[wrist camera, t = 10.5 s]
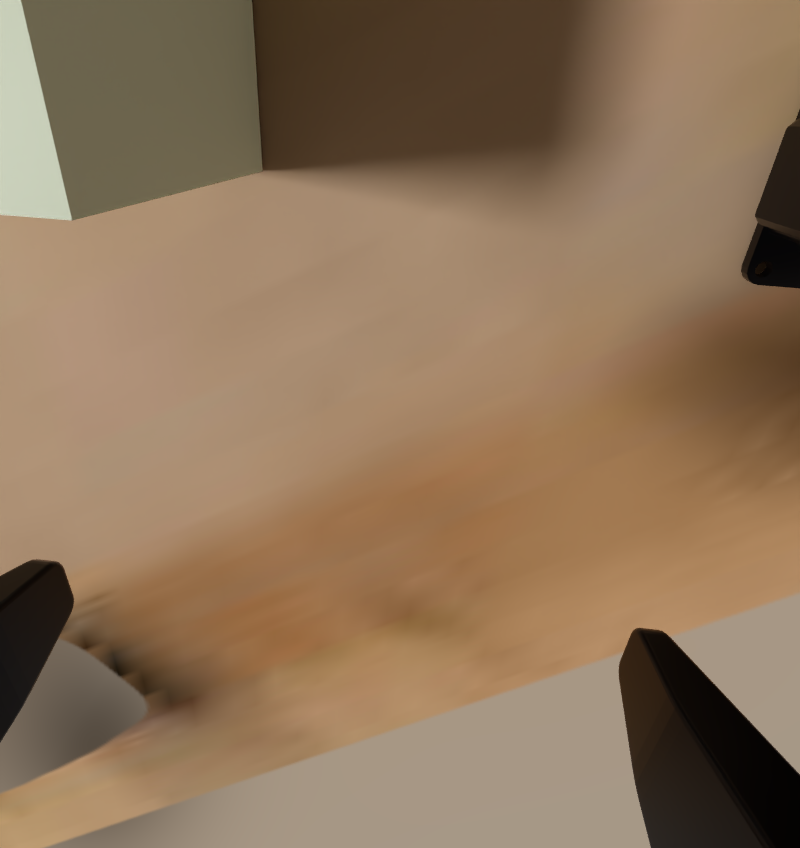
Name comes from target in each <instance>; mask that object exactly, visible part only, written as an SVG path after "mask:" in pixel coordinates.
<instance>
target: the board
mask: <svg viewBox="0 0 800 848" xmlns="http://www.w3.org/2000/svg"><path fill="white" fill-rule="evenodd" d="M262 171H263V169H262V153H261V137H260V121H259V105H258V89H257V73H256V57H255V41H254V25H253V9H252V0H0V215H11V216H23V217H36V218H48V219H61V220H76V219H80V218H83V217H87V216H91V215H95V214H99V213H103V212H107V211H111V210H114V209H118V208H122V207H126V206H130V205H134V204H138V203H142V202H145V201H149V200H153V199H157V198H161V197H165V196H169V195H173V194H176V193H180V192H184V191H188V190H192V189H196V188H200V187H204V186H207V185H211V184H215V183H219V182H223V181H227V180H231V179H235V178H238V177H242V176H246V175H250V174H254V173H258V172H262Z"/></svg>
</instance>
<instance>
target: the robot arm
mask: <svg viewBox="0 0 800 848" xmlns="http://www.w3.org/2000/svg"><path fill="white" fill-rule="evenodd" d="M755 217H756V219H757V221H758V224H757V226H756V229H755V232H754V234H753V237H752V240H751V242H750V245H749V248H748V251H747V253H746V256H745V259H744V261H743V264H742V269H741V272H742V276H743V277H744V278H745V279H746V280H747V281H749V282H751V283H753V284H757V285H766V286H778V287H790V288H800V110H799V113H798V115H797V118H796V121H795V122H793V123H792V124H791V125H790V126H789V127H788V128H787V129H786V131H785V134H784V137H783V140H782V142H781V145H780V148H779V151H778V153H777V156H776V159H775V162H774V164H773V167H772V170H771V173H770V175H769V178H768V181H767V184H766V186H765V189H764V192H763V195H762V197H761V200H760V203H759V205H758V208H757V211H756V214H755ZM765 261H766V268H765V269H764V271H763V272H761V273H760V274H756V273H755V269H756V267H757V266H758V264H760V263H762V262H765ZM73 604H74V597H73V593H72V591H71V588H70V585H69V582H68V579H67V576H66V573H65V570H64V568H63V566H62V565H61V564H60V563H59V562H56V561H48V560H38V559H36V560H31V561H28V562H26V563H24V564H22V565H20V566H18V567H16V568H14V569H12V570H11V571H9V572H7V573H5V574H3V575H1V576H0V742H1V740H2V739H3V737H4V736H5V734H6V733H7V731H8V729H9V728H10V726H11V725H12V723H13V722H14V720H15V718H16V716H17V715H18V713H19V712H20V710H21V708H22V707H23V705H24V703H25V701H26V699H27V697H28V695H29V694H30V692H31V690H32V688H33V686H34V684H35V683H36V681H37V679H38V677H39V675H40V673H41V671H42V669H43V667H44V665H45V663H46V661H47V659H48V657H49V655H50V653H51V651H52V649H53V647H54V645H55V643H56V641H57V640H58V638H59V636H60V634H61V632H62V630H63V628H64V626H65V624H66V622H67V620H68V618H69V616H70V614H71V612H72V609H73ZM619 681H620V687H621V694H622V701H623V708H624V714H625V721H626V728H627V734H628V741H629V748H630V755H631V761H632V768H633V774H634V779H635V785H636V789H637V794H638V798H639V802H640V806H641V810H642V814H643V818H644V822H645V826H646V830H647V834H648V838H649V842H650V846H651V848H800V774H799V773H798V772H797V771H796V770H795V769H794V768H793V767H792V766H791V765H790V764H789V763H788V762H787V761H786V760H785V758H784V757H783V756H782V755H781V754H780V753H779V752H778V751H777V750H776V749H775V748H774V747H773V746H772V745H771V744H770V743H769V742H768V740H766V738H765V737H764V736H763V735H762V734H761V733H760V732H759V731H758V730H757V729H756V728H755V727H754V726H753V725H752V723H751V722H750V721H749V720H748V719H747V718H746V717H745V716H744V715H743V714H742V713H741V712H740V711H739V710H738V709H737V708H736V707H735V705H734V704H733V703H732V702H731V701H730V700H729V699H728V698H727V697H726V696H725V695H724V694H723V693H722V692H721V691H720V690H719V689H718V688H717V686H715V684H713V682H712V681H711V680H710V679H709V678H708V677H707V676H706V675H705V674H704V673H703V672H702V671H701V670H700V669H699V667H698V666H697V665H696V664H695V663H694V662H693V661H692V660H691V659H690V658H689V657H688V656H687V655H686V654H685V653H684V652H683V650H682V649H681V648H680V647H678V645H677V644H676V643H675V642H674V641H673V640H672V639H671V638H670V637H669V636H668V635H667V634H666V633H664V632H663V631H660V630H654V629H645V628H636V629H635V630H634V631H633V632H632V633H631V636H630V638H629V641H628V643H627V645H626V648H625V650H624V653H623V655H622V658H621V661H620V664H619Z"/></svg>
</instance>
